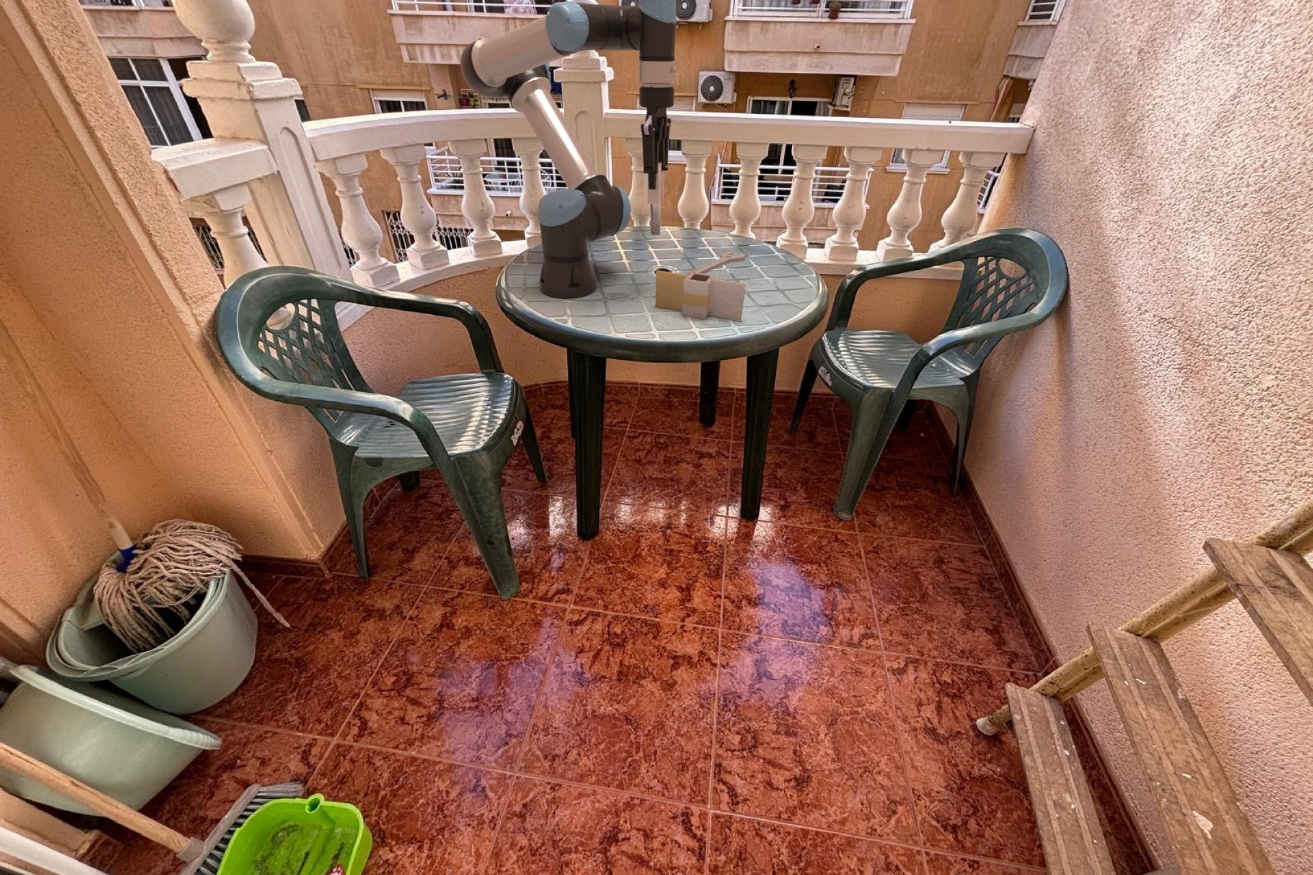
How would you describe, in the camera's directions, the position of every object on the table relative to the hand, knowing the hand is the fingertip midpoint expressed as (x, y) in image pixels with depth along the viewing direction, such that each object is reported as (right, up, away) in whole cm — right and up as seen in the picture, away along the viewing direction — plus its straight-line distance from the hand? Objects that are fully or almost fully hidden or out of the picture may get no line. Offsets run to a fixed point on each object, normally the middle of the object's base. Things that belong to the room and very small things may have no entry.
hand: (655, 201), depth 128 cm
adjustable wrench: (+18, -6, +32) cm, 37 cm away
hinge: (+10, -26, +3) cm, 28 cm away
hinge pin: (0, -6, +5) cm, 8 cm away
